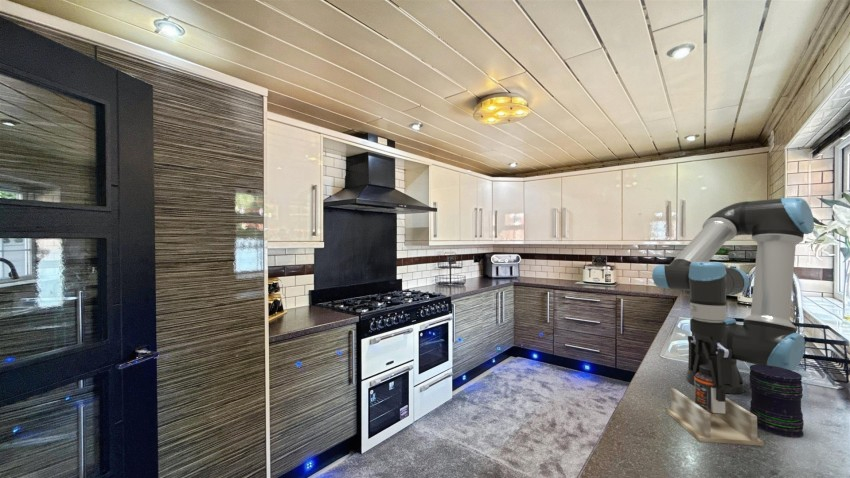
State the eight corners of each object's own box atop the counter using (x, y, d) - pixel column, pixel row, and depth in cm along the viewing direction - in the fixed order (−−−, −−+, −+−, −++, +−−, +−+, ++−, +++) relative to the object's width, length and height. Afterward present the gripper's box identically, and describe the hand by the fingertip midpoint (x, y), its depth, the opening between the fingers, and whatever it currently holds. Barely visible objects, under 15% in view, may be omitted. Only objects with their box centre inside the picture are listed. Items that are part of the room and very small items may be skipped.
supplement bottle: (689, 404, 93) (688, 363, 93) (709, 403, 93) (708, 362, 94) (709, 415, 87) (708, 371, 87) (730, 414, 87) (729, 370, 88)
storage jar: (811, 442, 83) (809, 381, 83) (756, 431, 88) (755, 373, 88) (795, 424, 91) (793, 368, 92) (745, 414, 96) (744, 362, 97)
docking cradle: (665, 411, 99) (665, 387, 99) (719, 414, 97) (718, 390, 97) (699, 441, 84) (699, 413, 84) (763, 445, 82) (762, 416, 82)
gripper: (672, 312, 101) (673, 390, 100) (717, 327, 82) (719, 424, 81) (699, 312, 99) (701, 391, 99) (752, 328, 81) (754, 426, 80)
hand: (709, 406), depth 90 cm, fingers closed on supplement bottle, 6 cm apart
